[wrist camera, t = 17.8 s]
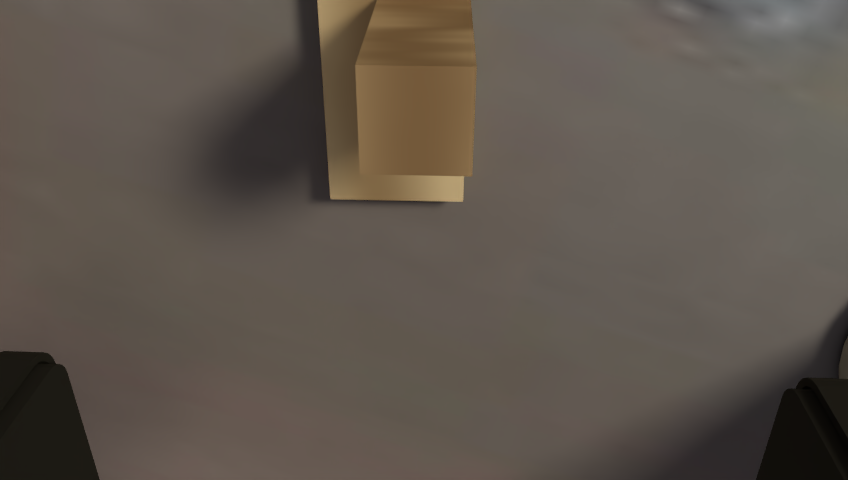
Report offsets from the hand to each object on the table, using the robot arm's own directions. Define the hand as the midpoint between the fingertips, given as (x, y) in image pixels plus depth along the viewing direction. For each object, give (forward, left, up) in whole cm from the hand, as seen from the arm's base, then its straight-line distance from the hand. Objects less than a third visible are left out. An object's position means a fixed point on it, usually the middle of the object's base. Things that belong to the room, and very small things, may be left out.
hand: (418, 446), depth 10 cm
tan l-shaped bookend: (0, 0, -19) cm, 19 cm away
